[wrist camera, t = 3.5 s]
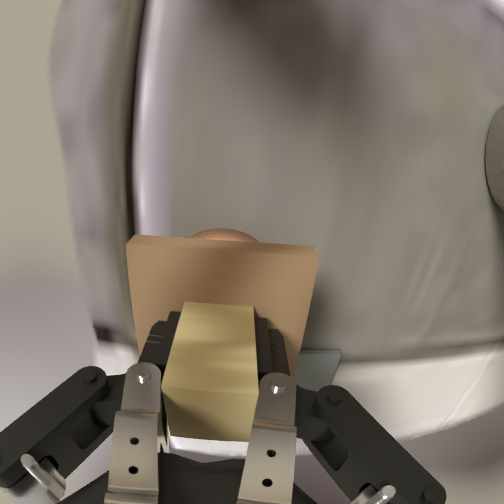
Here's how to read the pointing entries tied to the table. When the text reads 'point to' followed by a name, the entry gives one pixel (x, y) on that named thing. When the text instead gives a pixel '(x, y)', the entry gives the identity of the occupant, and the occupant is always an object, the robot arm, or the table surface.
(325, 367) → the mat
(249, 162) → the table surface
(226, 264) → the lid
